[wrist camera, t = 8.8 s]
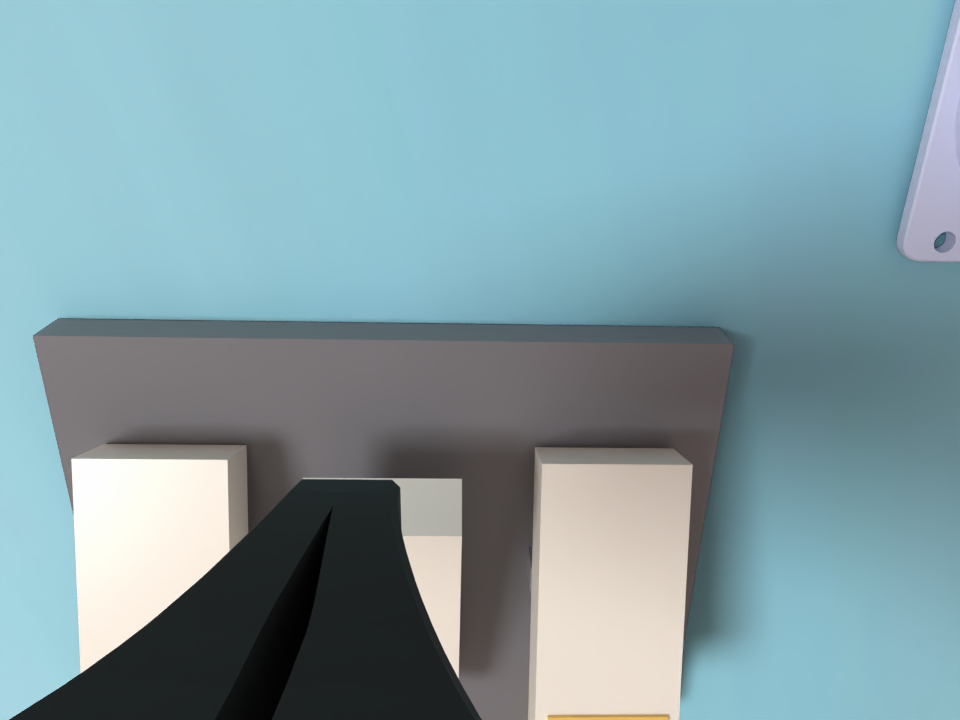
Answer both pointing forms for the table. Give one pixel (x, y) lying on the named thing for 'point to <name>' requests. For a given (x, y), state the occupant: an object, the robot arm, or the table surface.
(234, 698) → the robot arm
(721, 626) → the table surface
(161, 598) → the rocker
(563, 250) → the table surface
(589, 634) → the block
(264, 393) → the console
